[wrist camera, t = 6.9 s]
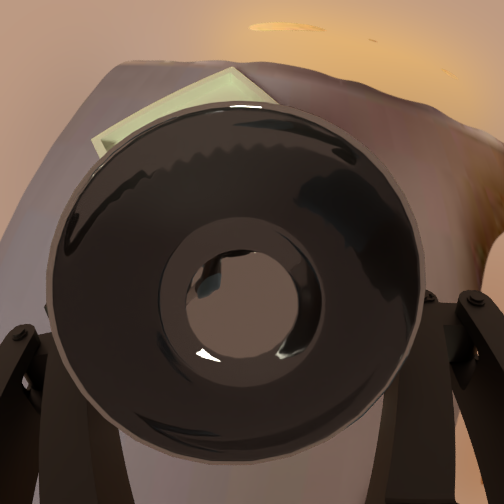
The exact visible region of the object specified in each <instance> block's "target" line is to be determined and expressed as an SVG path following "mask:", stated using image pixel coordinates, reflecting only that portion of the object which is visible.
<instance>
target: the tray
mask: <svg viewBox="0 0 504 504" xmlns="http://www.w3.org/2000/svg"><path fill="white" fill-rule="evenodd" d="M225 101H258V102H268V103H273V104H278V103H277V102H276V101H275V100H274V99H272V98H271V97H270V96H269V95H268V94H266V93H265V92H264V91H263V90H262V89H260V88H259V87H258V86H257V85H255V84H254V83H253V82H252V81H250V80H249V79H248V78H247V77H245V76H244V75H243V74H242V73H240V72H239V71H238V70H236V69H235V68H234V67H230V68H228V69H225V70H223V71H220V72H218V73H216V74H213V75H211V76H209V77H206V78H204V79H202V80H200V81H197V82H195V83H193V84H191V85H189V86H187V87H184V88H182V89H180V90H178V91H176V92H174V93H172V94H170V95H168V96H166V97H164V98H162V99H160V100H158V101H156V102H154V103H153V104H151V105H149V106H147V107H145V108H143V109H141V110H140V111H138V112H136V113H134V114H132V115H131V116H129V117H127V118H125V119H124V120H122V121H120V122H118V123H117V124H115V125H113V126H112V127H110V128H108V129H107V130H105V131H104V132H102V133H100V134H99V135H97V136H96V137H94V138H92V139H91V141H92V143H93V145H94V147H95V149H96V151H97V153H98V155H99V157H100V159H101V158H102V157H103V156H104V155H105V154H106V153H107V152H108V151H109V150H110V149H111V148H112V147H113V146H115V145H116V144H117V143H119V142H120V141H121V140H123V139H124V138H125V137H127V136H128V135H130V134H131V133H132V132H134V131H136V130H137V129H139V128H141V127H143V126H145V125H146V124H148V123H150V122H152V121H154V120H156V119H158V118H160V117H163V116H166V115H168V114H171V113H174V112H176V111H179V110H182V109H185V108H189V107H194V106H198V105H202V104H207V103H214V102H225ZM278 105H279V104H278Z"/></svg>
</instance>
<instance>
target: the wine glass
mask: <svg viewBox="0 0 504 504" xmlns="http://www.w3.org/2000/svg"><path fill="white" fill-rule="evenodd" d="M425 289H426V277H425V257H424V250H423V245H422V241H421V237H420V233H419V229H418V225H417V221H416V219H415V217H414V214H413V212H412V210H411V208H410V205H409V203H408V201H407V199H406V197H405V194H404V193H403V191H402V190H401V188H400V187H399V185H398V184H397V182H396V181H395V179H394V178H393V176H392V175H391V173H390V172H389V170H388V169H387V168H386V167H385V166H384V165H383V164H382V162H381V161H380V160H379V159H378V158H377V157H376V156H375V155H374V154H373V153H372V152H371V151H370V150H369V149H368V148H367V147H366V146H364V145H363V144H362V143H361V142H359V141H358V140H357V139H355V138H354V137H353V136H351V135H350V134H349V133H347V132H346V131H344V130H343V129H341V128H339V127H337V126H336V125H334V124H332V123H330V122H328V121H326V120H324V119H322V118H320V117H318V116H316V115H313V114H310V113H307V112H304V111H302V110H299V109H296V108H293V107H288V106H283V105H278V104H273V103H268V102H258V101H225V102H214V103H207V104H202V105H198V106H194V107H189V108H185V109H182V110H179V111H176V112H174V113H171V114H168V115H166V116H163V117H160V118H158V119H156V120H154V121H152V122H150V123H148V124H146V125H145V126H143V127H141V128H139V129H137V130H136V131H134V132H132V133H131V134H130V135H128V136H127V137H125V138H124V139H123V140H121V141H120V142H119V143H117V144H116V145H115V146H113V147H112V148H111V149H110V150H109V151H108V152H107V153H106V154H105V155H104V156H103V157H102V158H101V159H100V160H99V161H98V162H97V163H96V164H95V165H94V166H93V167H92V168H91V169H90V170H89V171H88V173H87V174H86V175H85V177H84V178H83V179H82V181H81V182H80V183H79V185H78V186H77V187H76V189H75V190H74V192H73V194H72V196H71V197H70V199H69V201H68V203H67V205H66V207H65V209H64V211H63V212H62V214H61V217H60V219H59V222H58V225H57V228H56V231H55V234H54V237H53V240H52V243H51V248H50V253H49V259H48V265H47V271H46V304H47V310H48V315H49V321H50V326H51V331H52V335H53V338H54V341H55V343H56V346H57V349H58V351H59V354H60V357H61V359H62V362H63V364H64V366H65V368H66V369H67V371H68V373H69V374H70V376H71V377H72V379H73V381H74V382H75V384H76V385H77V387H78V389H79V390H80V392H81V393H82V394H83V395H84V397H85V398H86V399H87V400H88V401H89V402H90V403H91V404H92V405H93V406H94V407H95V409H96V410H97V411H98V412H99V413H100V414H101V415H102V416H103V417H104V418H105V419H106V420H107V421H109V422H110V423H111V424H113V425H114V426H116V427H117V428H118V429H120V430H121V431H123V432H124V433H125V434H127V435H128V436H130V437H131V438H133V439H134V440H136V441H138V442H140V443H142V444H144V445H146V446H148V447H151V448H153V449H155V450H157V451H160V452H162V453H164V454H167V455H169V456H172V457H176V458H180V459H185V460H189V461H194V462H199V463H204V464H209V465H252V464H258V463H263V462H268V461H273V460H278V459H282V458H287V457H291V456H293V455H296V454H298V453H301V452H303V451H305V450H308V449H310V448H312V447H315V446H317V445H319V444H321V443H324V442H326V441H328V440H330V439H331V438H333V437H334V436H336V435H337V434H338V433H340V432H341V431H343V430H344V429H346V428H347V427H348V426H350V425H351V424H353V423H354V422H355V421H357V420H358V419H359V418H361V417H362V416H363V415H364V414H365V413H366V412H367V411H368V410H369V409H370V408H371V407H372V406H373V404H374V403H375V402H376V401H377V400H378V399H379V398H380V397H381V396H382V395H383V394H384V392H385V391H386V390H387V389H388V388H389V387H390V385H391V383H392V382H393V380H394V379H395V377H396V375H397V374H398V372H399V370H400V369H401V367H402V365H403V364H404V362H405V360H406V359H407V357H408V355H409V353H410V350H411V347H412V344H413V342H414V339H415V336H416V333H417V330H418V328H419V325H420V322H421V317H422V310H423V303H424V296H425Z"/></svg>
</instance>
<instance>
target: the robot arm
mask: <svg viewBox="0 0 504 504" xmlns="http://www.w3.org/2000/svg"><path fill="white" fill-rule="evenodd" d="M44 308H45V311H46V313H47V315H48V310H47V304H46V305H45V306H44ZM48 318H49V315H48ZM477 351H478V354H479V356H478V354H477ZM23 376H24V377H25V378H26V380H27V382H28V383H29V385H28V387H27V389H26V388H25V387H24V386H23V384H22V379H23ZM452 390H453V393H454V395H455V398H456V400H457V403H458V406H459V408H460V411H461V414H462V417H463V419H464V422H465V425H466V428H467V431H468V434H469V437H470V439H471V443H472V446H473V449H474V452H475V455H476V459H477V462H478V466H479V469H480V473H481V476H482V480H483V484H484V488H485V492H486V496H487V500H488V504H504V315H503V313H502V312H501V311H500V310H499V308H498V307H497V306H496V304H495V303H494V302H493V301H492V299H491V298H489V297H488V296H487V295H485V294H484V293H482V292H480V291H476V290H468V291H463V292H462V293H460V295H459V298H458V302H457V303H440V302H438V299H437V297H436V295H434V294H433V293H432V292H430V291H428V290H425V296H424V303H423V310H422V317H421V322H420V325H419V328H418V330H417V333H416V336H415V339H414V342H413V344H412V347H411V350H410V353H409V355H408V357H407V359H406V360H405V362H404V364H403V365H402V367H401V369H400V370H399V372H398V374H397V375H396V377H395V379H394V380H393V382H392V383H391V385H390V387H389V388H388V389H387V390H386V391H385V392H384V399H383V407H382V415H381V422H380V429H379V436H378V442H377V448H376V453H375V459H374V464H373V469H372V474H371V479H370V484H369V488H368V493H367V497H366V501H365V504H458V503H456V501H455V423H454V407H453V395H452ZM38 473H39V495H40V504H135V503H134V499H133V495H132V491H131V487H130V483H129V479H128V475H127V470H126V466H125V461H124V456H123V451H122V446H121V441H120V436H119V430H118V428H117V427H116V426H114V425H113V424H111V423H110V422H109V421H107V420H106V419H105V418H104V417H103V416H102V415H101V414H100V413H99V412H98V411H97V410H96V409H95V407H94V406H93V405H92V404H91V403H90V402H89V401H88V400H87V399H86V398H85V397H84V395H83V394H82V393H81V392H80V390H79V389H78V387H77V385H76V384H75V382H74V381H73V379H72V377H71V376H70V374H69V373H68V371H67V369H66V368H65V366H64V364H63V362H62V359H61V357H60V354H59V351H58V349H57V346H56V343H55V341H54V338H53V335H52V332H50V333H45V334H40V335H38V334H37V332H36V330H35V327H34V326H33V325H31V324H24V325H19V326H16V327H15V328H14V329H13V330H11V331H10V332H9V333H8V334H7V336H6V337H5V339H4V340H3V342H2V343H1V345H0V504H32V501H33V496H34V491H35V486H36V482H37V477H38Z"/></svg>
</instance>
